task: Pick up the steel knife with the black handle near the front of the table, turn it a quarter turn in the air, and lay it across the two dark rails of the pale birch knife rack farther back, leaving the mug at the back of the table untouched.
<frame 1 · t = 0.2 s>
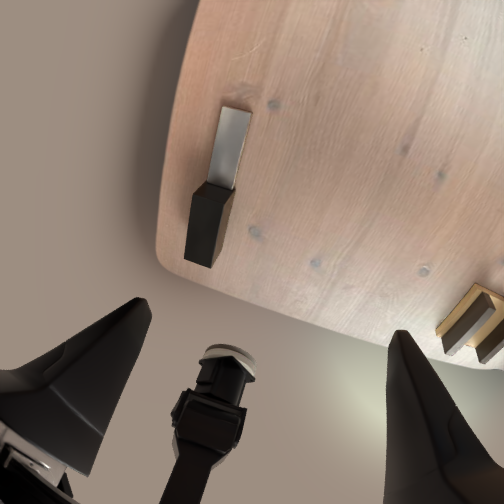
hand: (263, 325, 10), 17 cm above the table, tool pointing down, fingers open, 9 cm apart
rack: (479, 317, 26), on the table
knife: (221, 184, 25), on the table
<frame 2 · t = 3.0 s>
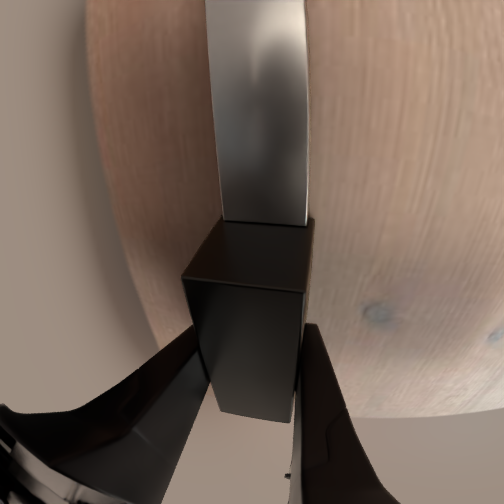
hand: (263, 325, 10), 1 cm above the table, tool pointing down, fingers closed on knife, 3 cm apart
knife: (267, 214, 9), on the table, touching gripper
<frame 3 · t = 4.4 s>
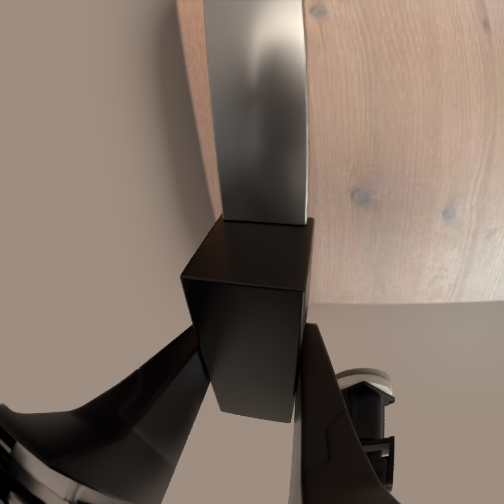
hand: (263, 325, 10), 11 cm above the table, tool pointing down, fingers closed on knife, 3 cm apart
knife: (267, 213, 9), point 10 cm above the table, touching gripper
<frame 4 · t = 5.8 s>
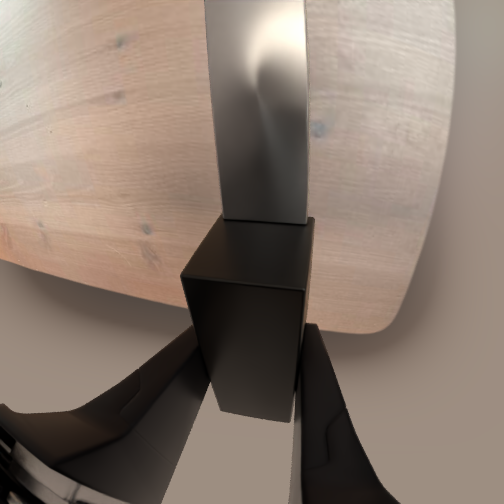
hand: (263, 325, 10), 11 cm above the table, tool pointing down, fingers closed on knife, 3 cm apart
knife: (267, 212, 9), point 10 cm above the table, touching gripper
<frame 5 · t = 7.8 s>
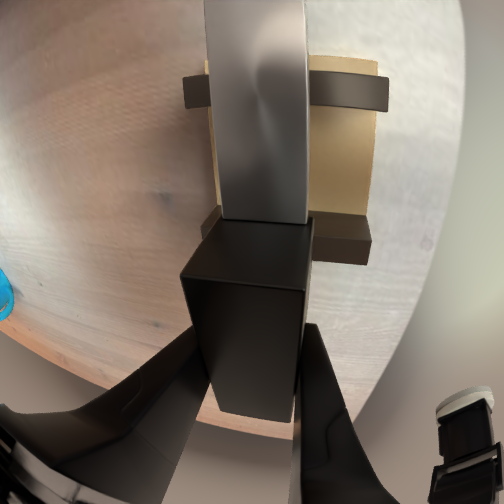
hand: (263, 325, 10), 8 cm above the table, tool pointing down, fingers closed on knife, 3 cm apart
mug: (4, 280, 33), on the table
rack: (292, 151, 14), on the table
knife: (267, 212, 9), point 7 cm above the table, touching gripper
when the fingers open (5 cm above the table, at t = 9.0 s): knife stays where it is, resting on rack.
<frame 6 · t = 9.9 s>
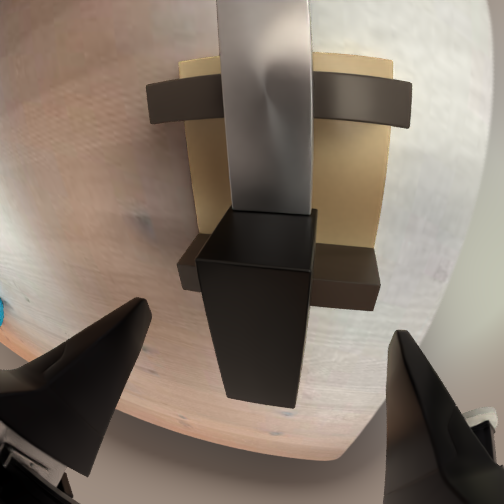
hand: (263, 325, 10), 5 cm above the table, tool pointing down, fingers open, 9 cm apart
rack: (287, 170, 12), on the table
knife: (273, 204, 9), point 3 cm above the table, touching rack
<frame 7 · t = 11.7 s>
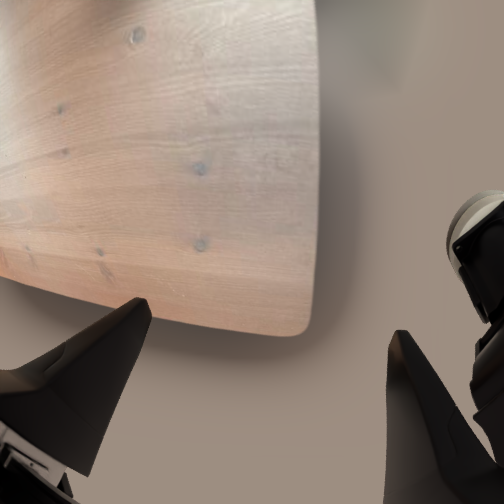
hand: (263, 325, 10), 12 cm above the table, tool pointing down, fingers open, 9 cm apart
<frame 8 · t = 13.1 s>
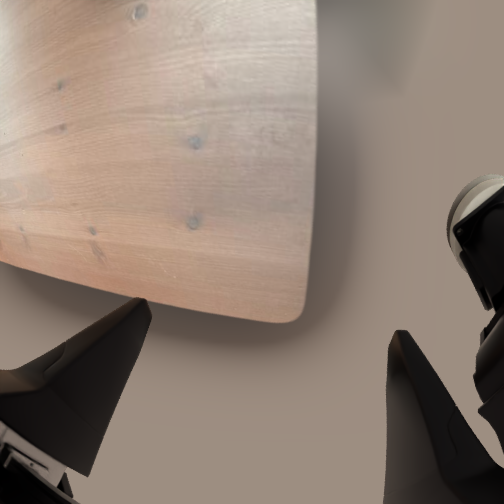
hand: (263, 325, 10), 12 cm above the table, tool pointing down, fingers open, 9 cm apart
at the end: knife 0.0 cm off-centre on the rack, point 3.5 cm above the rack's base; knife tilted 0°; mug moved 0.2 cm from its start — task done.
